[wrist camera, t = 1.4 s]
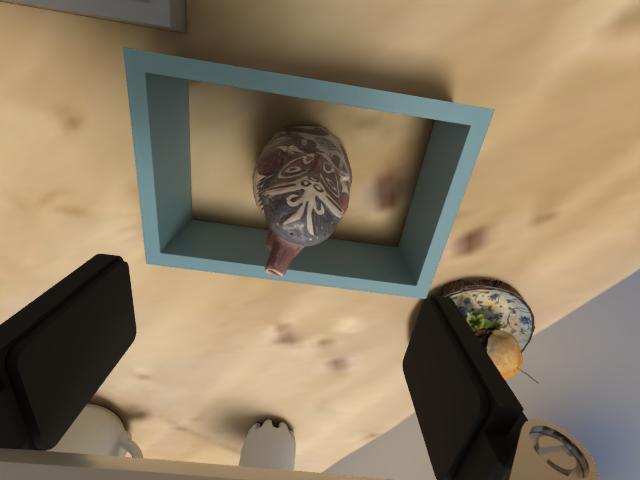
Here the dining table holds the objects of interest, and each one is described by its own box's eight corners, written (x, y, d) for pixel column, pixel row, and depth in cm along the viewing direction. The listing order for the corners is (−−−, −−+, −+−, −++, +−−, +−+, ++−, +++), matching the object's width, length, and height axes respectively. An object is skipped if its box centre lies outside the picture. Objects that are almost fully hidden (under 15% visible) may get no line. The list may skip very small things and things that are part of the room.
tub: (172, 56, 22) (123, 47, 16) (453, 103, 23) (494, 109, 17) (180, 228, 27) (146, 263, 22) (406, 258, 29) (425, 298, 23)
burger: (427, 268, 29) (458, 322, 23) (546, 284, 30) (611, 341, 23) (394, 361, 35) (412, 427, 28) (497, 372, 35) (538, 440, 29)
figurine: (368, 159, 25) (405, 217, 14) (317, 228, 27) (315, 322, 16) (291, 103, 23) (264, 120, 12) (244, 182, 25) (188, 254, 15)
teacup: (59, 443, 41) (4, 520, 33) (36, 385, 36) (-35, 460, 29) (169, 450, 41) (138, 527, 34) (161, 394, 37) (121, 470, 29)
